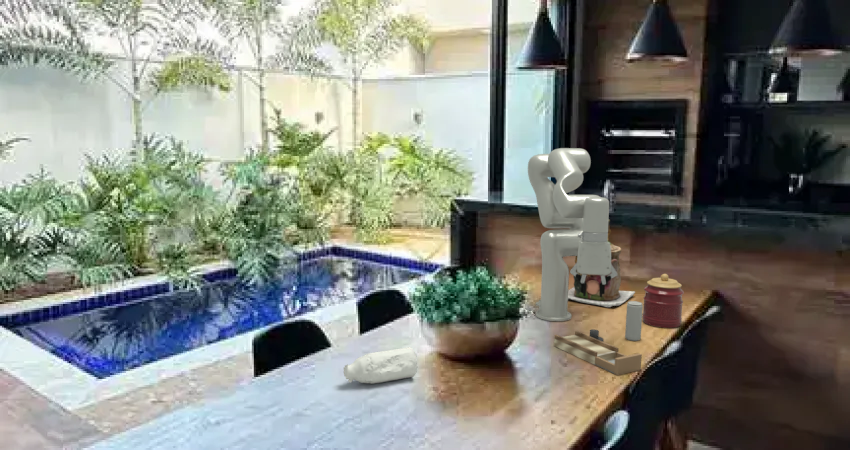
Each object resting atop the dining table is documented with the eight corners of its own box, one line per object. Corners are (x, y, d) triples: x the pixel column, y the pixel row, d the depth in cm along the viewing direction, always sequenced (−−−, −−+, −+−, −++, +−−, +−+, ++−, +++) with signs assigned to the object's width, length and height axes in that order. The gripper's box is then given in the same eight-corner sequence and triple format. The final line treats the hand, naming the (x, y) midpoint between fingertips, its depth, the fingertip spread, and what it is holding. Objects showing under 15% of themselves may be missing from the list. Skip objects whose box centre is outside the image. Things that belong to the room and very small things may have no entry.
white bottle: (340, 381, 171) (340, 353, 170) (405, 370, 179) (405, 343, 178) (350, 392, 164) (350, 362, 163) (417, 380, 172) (417, 352, 171)
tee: (580, 338, 209) (580, 329, 208) (594, 335, 211) (594, 326, 211) (593, 343, 203) (593, 334, 203) (607, 341, 206) (608, 332, 206)
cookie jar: (578, 287, 276) (582, 213, 271) (636, 296, 262) (641, 218, 257) (554, 299, 256) (558, 219, 252) (615, 310, 242) (620, 225, 237)
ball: (585, 295, 199) (585, 281, 198) (585, 292, 203) (585, 278, 202) (600, 296, 198) (600, 282, 197) (599, 292, 202) (600, 279, 201)
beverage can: (641, 341, 206) (643, 305, 204) (625, 340, 207) (627, 304, 205) (639, 337, 211) (641, 301, 209) (624, 336, 211) (626, 300, 210)
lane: (553, 345, 201) (554, 334, 200) (576, 341, 205) (576, 330, 205) (594, 364, 185) (595, 352, 185) (617, 359, 189) (618, 348, 189)
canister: (640, 325, 223) (644, 275, 220) (643, 315, 235) (646, 268, 232) (681, 330, 218) (684, 279, 216) (681, 320, 230) (685, 271, 227)
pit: (594, 364, 185) (595, 349, 185) (617, 359, 189) (618, 345, 189) (617, 375, 178) (618, 359, 177) (640, 369, 182) (641, 354, 181)
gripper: (566, 238, 196) (564, 296, 199) (624, 240, 192) (621, 300, 195) (567, 234, 204) (565, 291, 206) (622, 237, 200) (620, 294, 202)
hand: (592, 295), depth 200 cm, fingers closed on ball, 4 cm apart
